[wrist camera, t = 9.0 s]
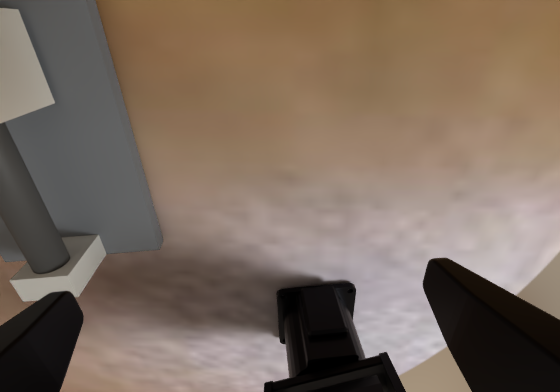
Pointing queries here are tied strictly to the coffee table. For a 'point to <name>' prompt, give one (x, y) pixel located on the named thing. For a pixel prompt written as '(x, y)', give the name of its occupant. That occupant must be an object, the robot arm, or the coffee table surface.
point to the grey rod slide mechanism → (71, 160)
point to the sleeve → (19, 70)
